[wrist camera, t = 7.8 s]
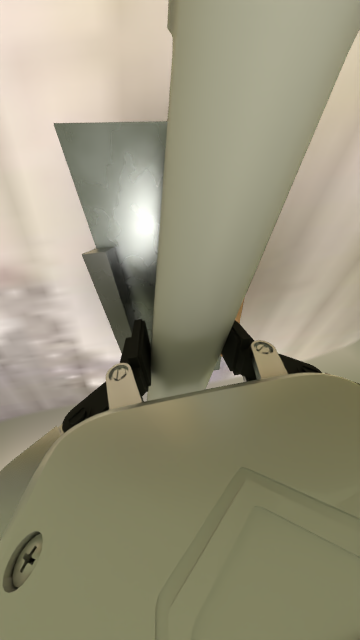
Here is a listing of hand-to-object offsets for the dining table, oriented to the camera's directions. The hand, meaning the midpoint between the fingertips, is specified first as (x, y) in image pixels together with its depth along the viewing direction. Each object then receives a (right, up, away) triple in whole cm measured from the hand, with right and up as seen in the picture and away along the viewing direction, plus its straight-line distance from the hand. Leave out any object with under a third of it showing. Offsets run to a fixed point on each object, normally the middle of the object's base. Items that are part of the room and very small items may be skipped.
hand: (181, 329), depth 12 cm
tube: (0, +1, +1) cm, 1 cm away
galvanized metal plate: (-1, +3, +5) cm, 6 cm away
